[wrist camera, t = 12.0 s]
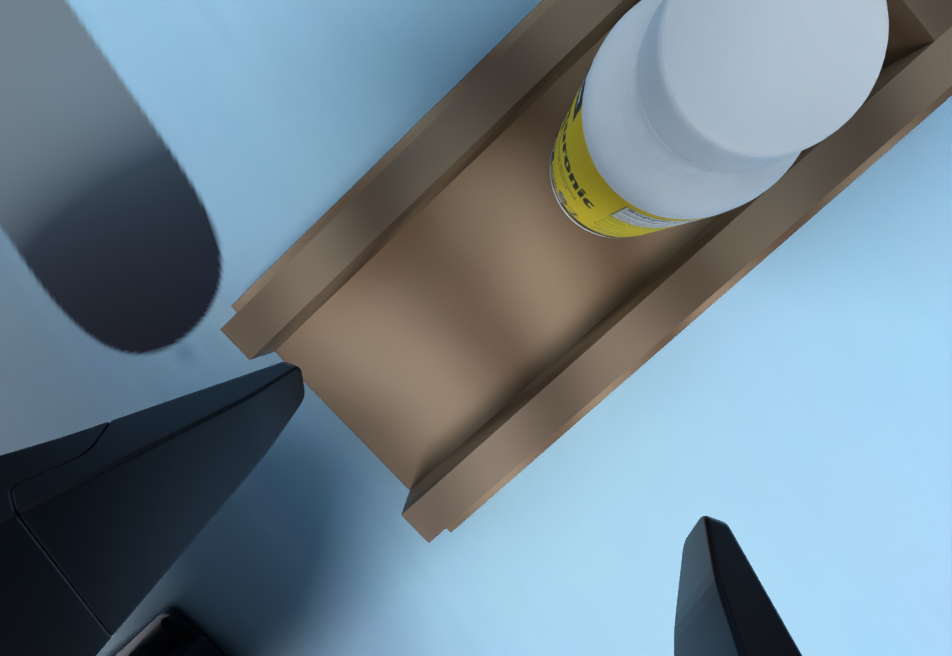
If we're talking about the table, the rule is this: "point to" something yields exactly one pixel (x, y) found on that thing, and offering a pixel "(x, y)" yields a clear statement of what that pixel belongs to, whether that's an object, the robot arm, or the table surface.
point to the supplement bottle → (709, 106)
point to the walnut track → (528, 263)
